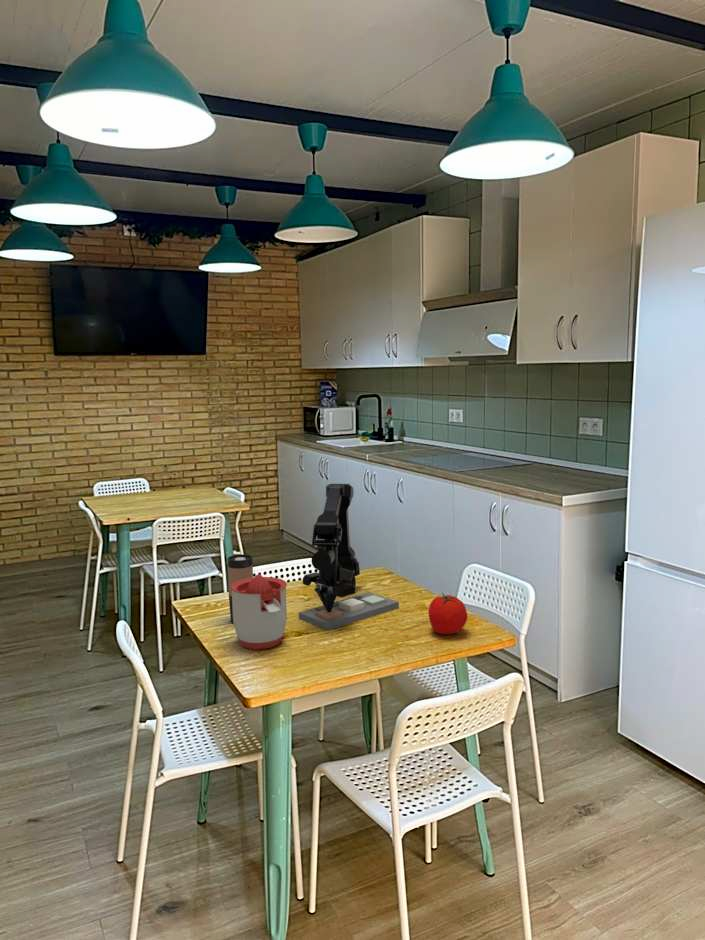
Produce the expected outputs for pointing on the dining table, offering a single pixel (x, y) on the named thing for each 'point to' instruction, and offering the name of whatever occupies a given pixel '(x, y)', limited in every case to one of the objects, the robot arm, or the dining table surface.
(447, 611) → the tomato
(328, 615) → the key terracotta
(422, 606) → the dining table surface
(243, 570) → the travel mug
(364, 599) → the key sage
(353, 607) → the key offwhite
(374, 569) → the dining table surface
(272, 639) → the citrus juicer
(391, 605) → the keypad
